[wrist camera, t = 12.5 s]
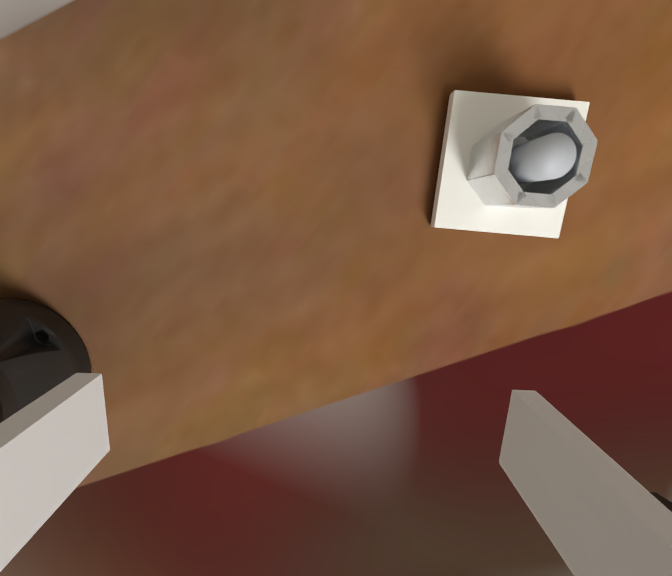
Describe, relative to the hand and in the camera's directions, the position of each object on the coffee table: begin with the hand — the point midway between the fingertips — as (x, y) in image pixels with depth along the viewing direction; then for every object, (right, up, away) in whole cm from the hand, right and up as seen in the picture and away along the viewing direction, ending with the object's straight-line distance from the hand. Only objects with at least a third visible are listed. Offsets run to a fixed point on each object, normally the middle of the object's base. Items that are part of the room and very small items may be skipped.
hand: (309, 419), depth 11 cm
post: (+17, +16, +22) cm, 32 cm away
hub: (+17, +15, +21) cm, 31 cm away
